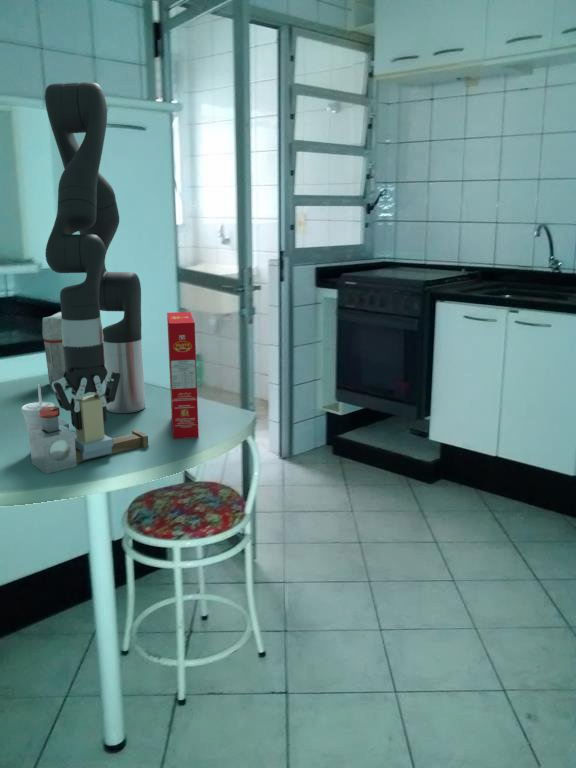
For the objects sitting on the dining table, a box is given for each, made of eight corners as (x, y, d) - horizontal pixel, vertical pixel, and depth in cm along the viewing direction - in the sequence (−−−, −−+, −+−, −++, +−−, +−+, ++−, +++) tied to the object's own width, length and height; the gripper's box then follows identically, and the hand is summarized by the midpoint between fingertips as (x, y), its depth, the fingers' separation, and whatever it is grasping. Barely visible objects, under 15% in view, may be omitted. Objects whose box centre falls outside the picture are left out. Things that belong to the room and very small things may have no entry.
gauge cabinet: (32, 463, 133) (28, 429, 131) (62, 456, 137) (59, 422, 135) (46, 474, 128) (43, 438, 126) (77, 466, 132) (74, 432, 130)
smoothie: (64, 451, 140) (59, 385, 136) (34, 459, 135) (27, 391, 132) (50, 444, 144) (44, 379, 140) (20, 451, 140) (13, 385, 136)
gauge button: (39, 444, 132) (36, 408, 130) (58, 440, 134) (54, 405, 132) (47, 449, 129) (43, 413, 127) (65, 445, 131) (62, 409, 129)
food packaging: (171, 418, 161) (167, 312, 155) (194, 417, 162) (190, 312, 156) (173, 438, 147) (168, 323, 141) (198, 437, 148) (194, 322, 142)
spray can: (67, 388, 187) (61, 315, 182) (41, 386, 189) (35, 314, 184) (85, 381, 195) (79, 311, 190) (59, 379, 197) (53, 310, 192)
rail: (64, 457, 136) (63, 446, 136) (136, 440, 146) (136, 429, 146) (74, 464, 133) (73, 453, 132) (148, 446, 143) (147, 435, 142)
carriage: (49, 443, 143) (44, 390, 140) (81, 436, 148) (77, 384, 145) (80, 463, 132) (75, 406, 129) (113, 455, 137) (110, 399, 134)
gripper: (108, 333, 139) (114, 415, 143) (38, 342, 130) (47, 429, 134) (126, 339, 133) (131, 423, 137) (54, 349, 124) (62, 439, 129)
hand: (89, 426), depth 136 cm, fingers closed on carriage, 4 cm apart
